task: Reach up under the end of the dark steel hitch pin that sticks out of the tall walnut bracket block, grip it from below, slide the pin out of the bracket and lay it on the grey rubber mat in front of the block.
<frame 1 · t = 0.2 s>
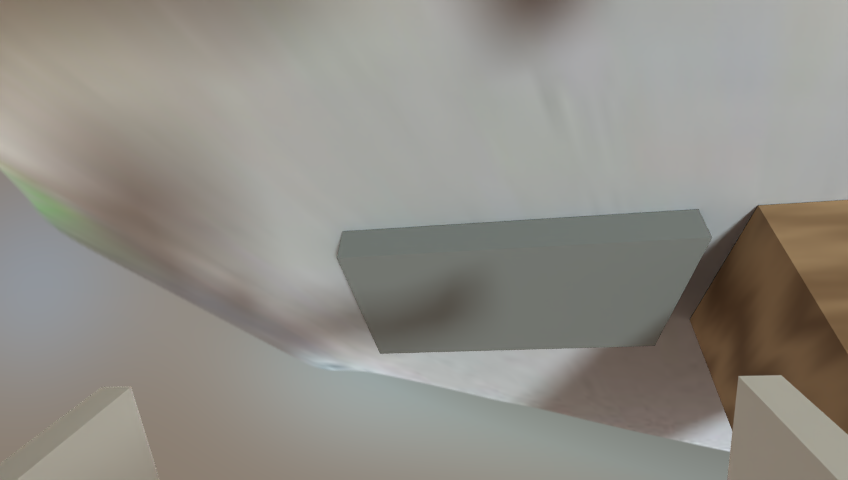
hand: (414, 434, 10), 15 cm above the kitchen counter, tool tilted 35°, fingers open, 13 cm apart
mat: (510, 281, 31), on the kitchen counter
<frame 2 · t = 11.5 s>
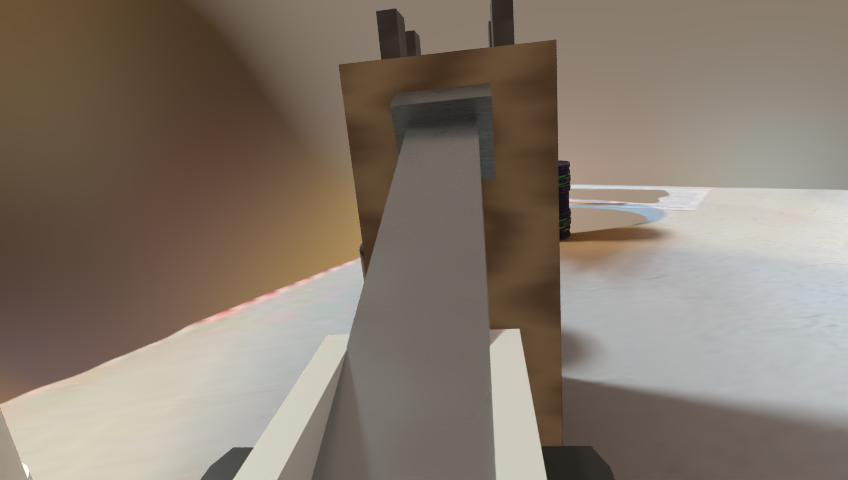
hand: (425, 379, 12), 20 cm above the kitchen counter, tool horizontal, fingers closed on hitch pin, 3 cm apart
bracket block: (478, 423, 41), on the kitchen counter
storage jar: (546, 236, 96), on the kitchen counter
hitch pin: (438, 355, 15), point 19 cm above the kitchen counter, tilted 20°, touching gripper
when the fingers open (8 cm above the kitchen counter, at t = 14.1 s): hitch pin drops 5 cm, resting on mat.
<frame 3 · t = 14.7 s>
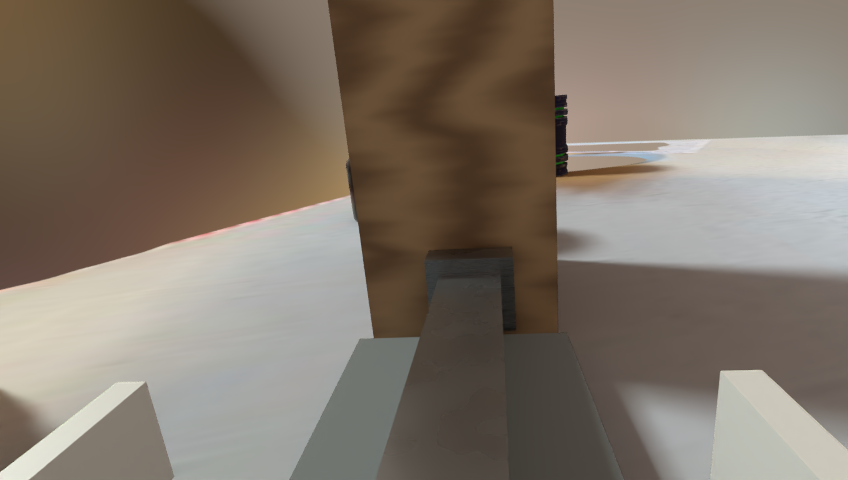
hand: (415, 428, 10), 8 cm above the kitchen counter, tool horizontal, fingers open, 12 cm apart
bracket block: (466, 293, 38), on the kitchen counter
storage jar: (542, 175, 93), on the kitchen counter
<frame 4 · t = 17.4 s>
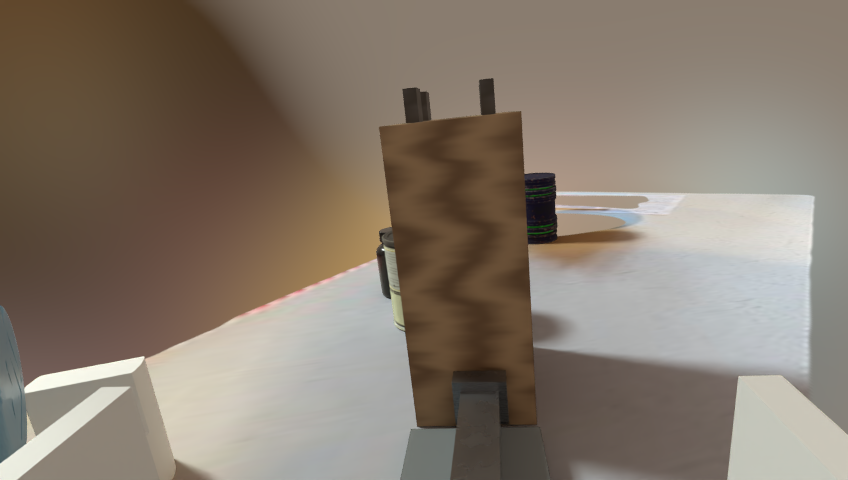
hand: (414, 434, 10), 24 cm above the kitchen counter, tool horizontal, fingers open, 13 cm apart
bracket block: (476, 381, 54), on the kitchen counter
storage jar: (536, 239, 109), on the kitchen counter
supplement bottle: (400, 293, 85), on the kitchen counter
coffee can: (425, 319, 72), on the kitchen counter
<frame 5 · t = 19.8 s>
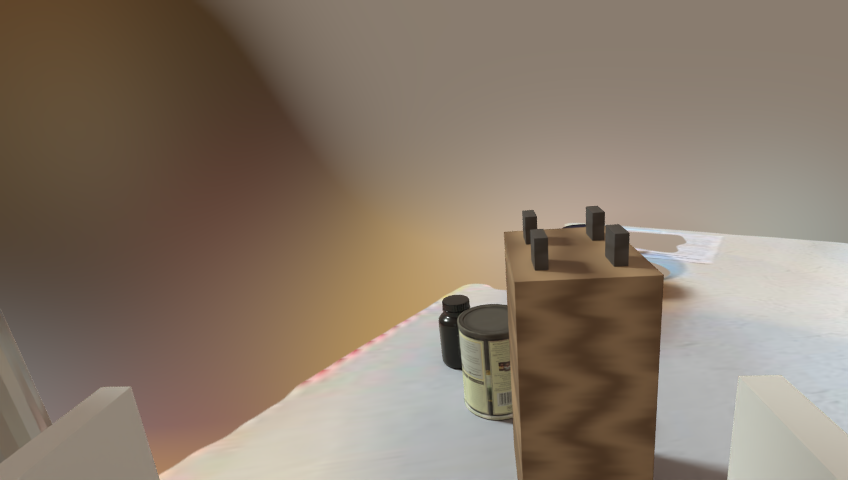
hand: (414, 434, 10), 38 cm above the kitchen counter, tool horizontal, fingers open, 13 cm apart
supplement bottle: (460, 360, 85), on the kitchen counter
coffee can: (496, 400, 72), on the kitchen counter
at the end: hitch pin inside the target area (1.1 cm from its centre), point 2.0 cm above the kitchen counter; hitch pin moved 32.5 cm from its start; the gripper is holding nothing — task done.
